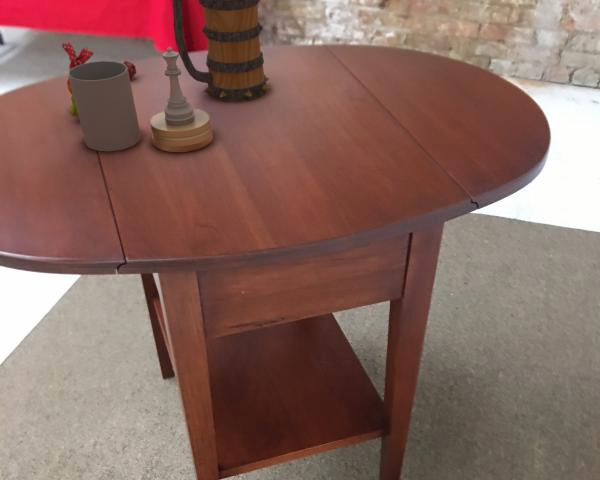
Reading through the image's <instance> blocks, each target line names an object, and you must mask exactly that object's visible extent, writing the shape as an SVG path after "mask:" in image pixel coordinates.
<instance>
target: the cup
mask: <svg viewBox="0 0 600 480" xmlns="http://www.w3.org/2000/svg"><path fill="white" fill-rule="evenodd" d="M123 63H124V62H118V61H115V60H112V61H111V60H110V61H109V60H98V61H89V62H85V64H81V65H78V66H76V67H74V68H72V69H70V71H69V70H68V73H67V77H68V78H69V81H70V85H71V88H72V92H73V96H74V100H75V104H76V108H77V111H78V115H79V116H78V119H79V123H80V126H81V130H82V134H83V139H84V142H85V144H86V146H87V147H88V148H89V149H92V150H94V151H97V152H116V151H122V150H125V149H128V148H131V147H134V146H136V145H137V144H138V143H139V142H140V141H141V138H142V133H141V129H140V125H139V124H140V123H139V120H138V114H137V108H136V104H135V98H134V94H133V88H132V83H131V78H129V73H128V68H127V66H125V65H124V64H123Z"/></svg>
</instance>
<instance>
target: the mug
mask: <svg viewBox="0 0 600 480" xmlns="http://www.w3.org/2000/svg"><path fill="white" fill-rule="evenodd" d="M171 2H172V11H173V12H172V13H173V14H172V16H173V19H172V20H173V32H174V33H173V34H174V41H175V45H176V47H177V50H178V51H177V52H178V54H179V57H180V59H181V61H182V63H183V65H184V68H185V70H186V71H187V73H188V75H189V76H190V77H191V78H192V79H194V80H195V81H196V82H200V83H204V84H207V87H206V88H205V89H204V90H203V92H204V93H207V94H208V95H209V96H210V97H212V98H213V99H214V100H218V101H223V102H237V103H238V102H244V101H245V102H246V101H251V100H255V99H257V98H261V97H262V96H263V95H265V94H266V92H268V90H270V89H271V87H270V86H268V85H267V82H268V81H269V80H270V77H268V76H266V75H265V71H264V63H265V59H264V53H263V52H262V51H261V44H260V43H261V42H260V34H261V32H262V31H263V25H261V23H260V22H259V3H260V2H261V0H198V3H199V5H201V6H202V9H203V15H204V16H203V17H204V23H205V25H203V27H202V29H201V32H202V33H203V34H204V36H205V38H206V41H207V55H206V62H205V65H206V67H207V69H208V71H200V70H198V69H197V68H195V65H194V64H193V62H192V60H191V58H190V55H189V52H188V50H187V49H188V48H187V45H186V43H185V37H184V27H183V24H184V23H183V21H184V20H183V16H184V15H183V13H184V12H183V1H182V0H172V1H171Z"/></svg>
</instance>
